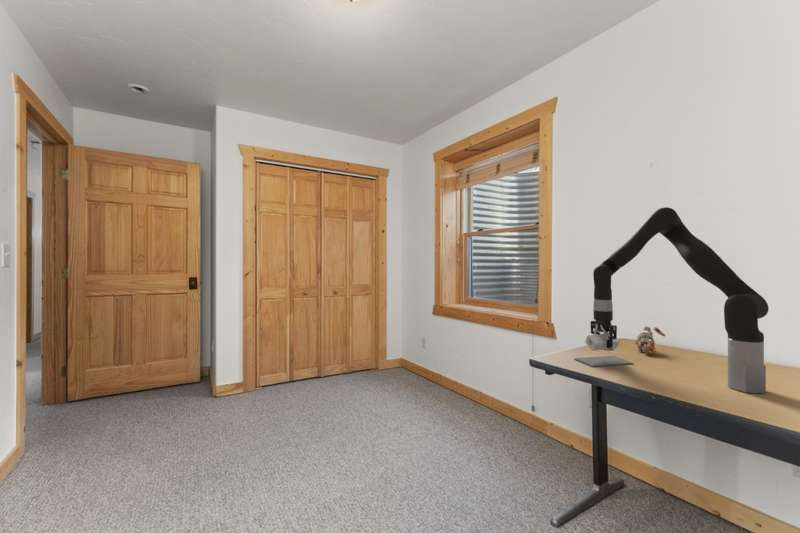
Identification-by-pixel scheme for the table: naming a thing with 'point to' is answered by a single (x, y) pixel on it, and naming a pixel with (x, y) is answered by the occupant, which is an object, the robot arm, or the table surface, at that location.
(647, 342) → the voxel character
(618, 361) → the slate mat
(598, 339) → the skincare box
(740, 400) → the table surface
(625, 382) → the table surface
